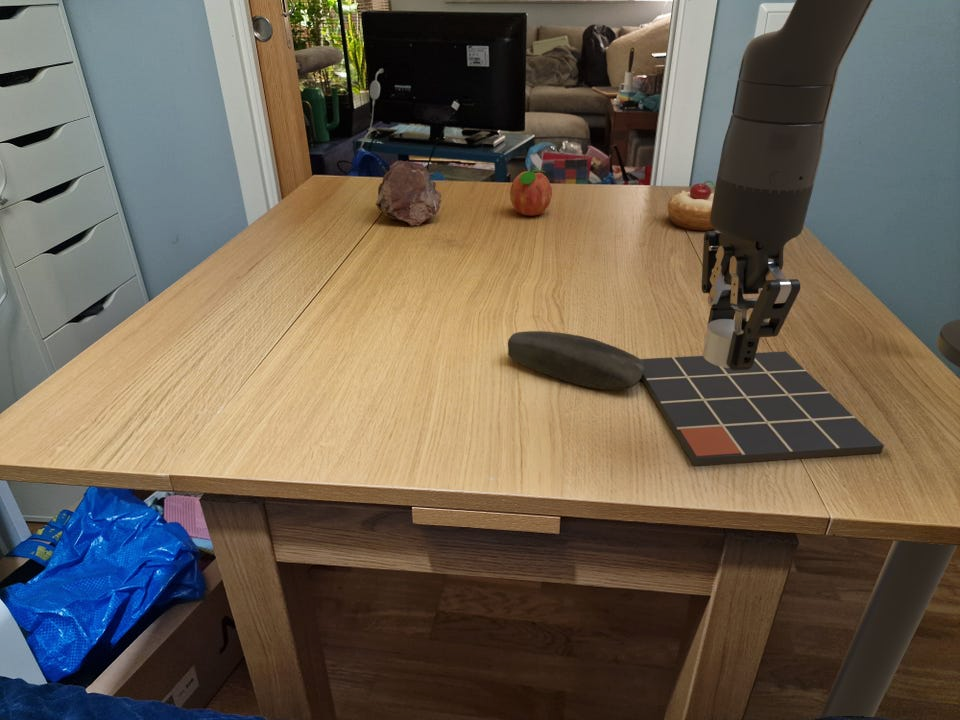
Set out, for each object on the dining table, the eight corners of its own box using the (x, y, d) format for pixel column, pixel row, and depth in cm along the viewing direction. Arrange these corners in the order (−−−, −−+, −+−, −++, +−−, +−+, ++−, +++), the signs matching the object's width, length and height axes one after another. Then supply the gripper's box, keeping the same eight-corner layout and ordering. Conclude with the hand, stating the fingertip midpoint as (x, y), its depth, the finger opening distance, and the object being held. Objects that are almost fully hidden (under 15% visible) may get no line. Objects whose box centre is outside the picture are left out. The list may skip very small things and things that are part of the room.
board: (783, 357, 85) (785, 350, 85) (881, 453, 68) (884, 444, 67) (632, 366, 83) (633, 358, 83) (693, 466, 66) (695, 457, 66)
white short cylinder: (738, 345, 65) (743, 317, 64) (758, 367, 61) (765, 338, 60) (694, 347, 65) (700, 319, 63) (713, 369, 61) (719, 341, 60)
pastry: (688, 211, 140) (694, 168, 136) (739, 224, 132) (748, 179, 128) (653, 222, 133) (659, 178, 129) (705, 237, 125) (713, 190, 121)
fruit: (500, 215, 137) (501, 166, 132) (525, 204, 144) (527, 158, 139) (535, 223, 133) (537, 173, 128) (559, 211, 140) (562, 163, 135)
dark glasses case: (648, 374, 82) (652, 344, 80) (636, 400, 77) (640, 369, 74) (518, 347, 88) (519, 319, 86) (500, 369, 83) (500, 340, 81)
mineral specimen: (391, 247, 135) (389, 204, 144) (450, 226, 132) (444, 184, 142) (365, 203, 126) (365, 160, 136) (427, 180, 124) (423, 138, 134)
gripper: (860, 197, 49) (803, 392, 57) (767, 154, 61) (732, 320, 70) (763, 199, 48) (720, 397, 57) (689, 155, 60) (663, 323, 69)
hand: (727, 354), depth 63 cm, fingers closed on white short cylinder, 4 cm apart
